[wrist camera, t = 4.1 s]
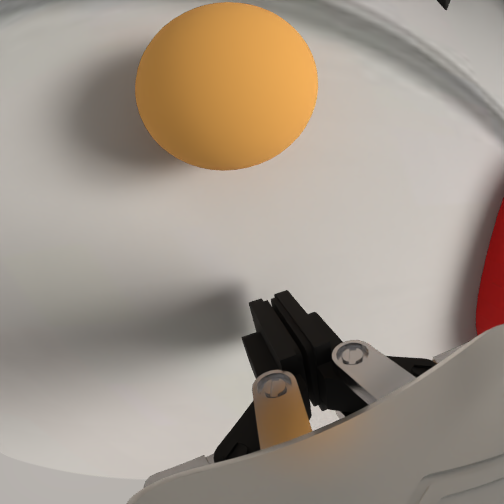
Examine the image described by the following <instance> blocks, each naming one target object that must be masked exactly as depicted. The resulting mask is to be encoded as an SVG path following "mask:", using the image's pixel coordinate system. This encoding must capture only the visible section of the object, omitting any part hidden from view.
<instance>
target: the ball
mask: <svg viewBox="0 0 504 504" xmlns="http://www.w3.org/2000/svg"><path fill="white" fill-rule="evenodd" d="M317 91H318V78H317V70H316V65H315V61H314V59H313V56H312V53H311V51H310V49H309V47H308V45H307V44H306V42H305V41H304V39H303V38H302V37H301V36H300V34H299V33H298V32H297V31H296V30H295V29H294V28H293V27H292V26H291V25H290V24H289V23H288V22H286V21H285V20H284V19H282V18H281V17H279V16H278V15H276V14H274V13H272V12H270V11H268V10H265V9H263V8H260V7H257V6H253V5H249V4H243V3H232V2H224V3H214V4H208V5H204V6H200V7H197V8H194V9H192V10H190V11H187V12H185V13H183V14H181V15H180V16H178V17H176V18H175V19H173V20H172V21H170V22H169V23H168V24H167V25H165V26H164V27H163V28H162V29H161V30H160V31H159V32H158V33H157V34H156V35H155V37H154V38H153V39H152V41H151V42H150V43H149V45H148V46H147V48H146V50H145V52H144V54H143V56H142V58H141V61H140V63H139V66H138V71H137V76H136V82H135V95H136V103H137V107H138V110H139V114H140V116H141V119H142V121H143V123H144V125H145V127H146V129H147V130H148V132H149V133H150V135H151V136H152V137H153V139H154V140H155V141H156V142H157V143H158V144H159V145H160V146H161V147H162V148H163V149H165V150H166V151H167V152H168V153H170V154H171V155H173V156H174V157H176V158H177V159H179V160H182V161H184V162H186V163H188V164H191V165H194V166H197V167H200V168H205V169H210V170H237V169H242V168H248V167H251V166H254V165H258V164H261V163H263V162H265V161H267V160H270V159H271V158H273V157H275V156H276V155H278V154H280V153H281V152H282V151H283V150H285V149H286V148H287V147H288V146H290V145H291V144H292V143H293V142H294V141H295V140H296V139H297V138H298V137H299V135H300V134H301V133H302V131H303V130H304V128H305V127H306V125H307V123H308V121H309V119H310V117H311V115H312V113H313V110H314V107H315V104H316V99H317Z"/></svg>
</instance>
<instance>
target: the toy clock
mask: <svg viewBox="0 0 504 504" xmlns="http://www.w3.org/2000/svg"><path fill="white" fill-rule="evenodd" d="M501 324H504V198H503V201H502V204H501V207H500V210H499V213H498V216H497V219H496V222H495V226H494V229H493V233H492V236H491V240H490V244H489V248H488V252H487V255H486V259H485V264H484V269H483V273H482V277H481V283H480V288H479V294H478V301H477V309H476V329H477V335H480V334H482V333H483V332H485V331H487V330H489V329H491V328H493V327H495V326H498V325H501Z"/></svg>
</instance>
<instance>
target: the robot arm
mask: <svg viewBox="0 0 504 504" xmlns="http://www.w3.org/2000/svg"><path fill="white" fill-rule="evenodd" d="M274 297H275V298H273V299H271V304H272V306H271V305H270V303H269V302H268V300H267V301H263V300H262V299H259V300H256V301H252V302H249V306H250V310H251V313H252V317H253V321H254V324H255V328H256V333H253V334H250V335H247V336H244V337H242V340H243V344H244V347H245V350H246V353H247V356H248V359H249V362H250V365H251V367H252V370H253V373H254V375H255V378H256V380H255V381H254V383H253V386H252V393H253V402H252V403H251V404H250V406H249V407H248V408H247V410H246V411H245V412H244V414H243V415H242V416H241V418H240V419H239V420H238V422H237V423H236V424H235V426H234V427H233V428H232V429H231V431H230V432H229V433H228V435H227V436H226V437H225V438H224V440H223V441H222V442H221V443H220V445H219V446H218V447H217V449H216V450H215V452H214V454H212V455H210V456H207V457H205V456H204V455H203V456H200V457H198V458H195V459H193V460H191V461H188V462H186V463H183V464H180V465H178V466H175V467H173V468H170V469H167V470H164V471H161V472H159V473H156V474H154V475H152V476H150V477H149V478H148V479H147V480H146V481H145V484H144V488H143V489H142V490H140V491H139V492H138V493H136V494H135V495H133V496H132V497H131V498H130V500H129V501H128V502H127V504H504V324H501V325H498V326H495V327H493V328H491V329H489V330H487V331H485V332H483V333H482V334H480V335H478V336H477V337H475V338H474V339H472V340H471V341H469V342H467V343H465V344H463V345H461V346H458V347H456V348H454V349H452V350H449V351H447V352H444V353H442V354H440V355H437V356H435V357H433V360H432V361H431V360H429V359H423V358H406V357H392V356H385V355H383V354H382V353H381V352H379V351H378V350H376V349H375V348H374V347H372V346H371V345H369V344H368V343H366V342H364V341H360V340H350V341H345V342H342V341H341V339H340V338H339V337H338V336H337V335H336V334H335V333H334V332H333V331H332V329H331V328H330V327H329V326H328V325H327V324H326V323H325V322H324V321H323V319H322V318H321V317H320V316H319V315H318V314H317V313H316V312H313V313H310V314H307V313H306V312H305V310H304V309H303V308H302V307H301V306H300V305H299V303H298V302H297V301H296V300H295V299H294V297H293V296H292V295H291V294H290V293H289V291H287V290H286V291H283V292H280V293H277V294H275V295H274ZM309 399H310V400H309ZM310 401H311V402H312V404H313V406H317V405H319V407H320V409H321V410H322V411H324V410H327V409H330V410H335V411H336V414H337V416H338V417H339V418H340V420H337V421H335V422H333V423H331V424H328V425H326V426H324V427H321V428H319V429H317V430H314V431H312V429H311V426H310V423H309V420H310V418H311V416H312V415H311V406H310Z"/></svg>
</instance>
